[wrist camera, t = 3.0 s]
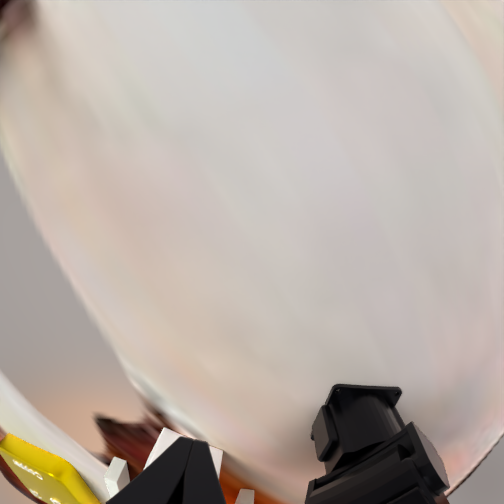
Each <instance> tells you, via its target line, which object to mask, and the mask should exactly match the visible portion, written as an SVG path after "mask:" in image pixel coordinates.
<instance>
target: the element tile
mask: <svg viewBox="0 0 504 504" xmlns="http://www.w3.org/2000/svg"><path fill="white" fill-rule="evenodd" d="M0 454H1V456H2V457H3V458H4V460H5V461H6V463H7V464H8V465H9V467H10V468H11V469H12V470H13V472H14V473H15V474H16V475H17V477H18V478H19V479H20V480H21V482H22V483H23V484H24V485H25V486H26V487H27V489H28V490H29V491H30V492H31V493H32V494H33V495H34V496H35V497H37V498H39V499H41V500H43V501H44V502H46V503H48V504H101V503H100V502H99V500H98V499H97V498H96V497H95V495H94V494H93V493H92V491H91V490H90V489H89V487H88V486H87V485H86V483H85V482H84V480H83V479H82V478H81V476H80V475H79V473H78V472H77V470H76V469H75V468H74V467H73V466H72V465H71V464H70V463H69V462H68V461H66V460H65V459H63V458H61V457H59V456H57V455H54V454H52V453H50V452H47V451H45V450H43V449H41V448H38V447H36V446H34V445H32V444H30V443H28V442H26V441H24V440H22V439H20V438H18V437H16V436H14V435H12V434H10V433H8V434H7V435H6V436H5V437H4V438H3V439H2V440H1V442H0Z"/></svg>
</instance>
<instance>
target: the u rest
mask: <svg viewBox="0 0 504 504" xmlns="http://www.w3.org/2000/svg"><path fill="white" fill-rule="evenodd" d="M104 479H105V482H106V485H107V488H108V491H109V494H110V497H111V498H112V497H113V496H114V495H116V494H117V493H118V492H119V491H120V490H121V489H123V488H124V487H125V486H126V485H127V484H128V483H130V478H129V473H128V467H127V461H125V460H122V459H120V458H117V457H114V458H113V460H112V462H111V464H110V466H109V468H108V470H107V472H106V474H105V476H104ZM235 504H254V490H250V489H242V488H241V489H240V492H239V494H238V497H237V499H236V502H235Z"/></svg>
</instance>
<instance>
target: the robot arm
mask: <svg viewBox="0 0 504 504" xmlns="http://www.w3.org/2000/svg"><path fill="white" fill-rule="evenodd" d="M338 389H340V390H339V391H336V390H338ZM396 392H397V393H396ZM401 394H402V391H401V389H400V388H399V387H381V386H361V385H347V384H336V385H334V386H333V387H332V389H331V391H330V393H329V396H328V398H327V400H326V402H325V405H323V406H322V407H321V408H320V410H319V413H318V415H317V417H316V419H315V421H314V423H313V426H312V433H311V439H312V440H313V441H315V447H316V453H317V458H318V460H319V461H320V462H324V464H325V469H326V475H324V476H322V477H320V478H318V479H314V480H312V481H309V485H308V490H307V495H306V500H305V504H449V502H448V500H447V498H446V496H445V494H444V491H446V490H447V489H449V488H450V485H449V481H448V478H447V474H446V470H445V467H444V463H443V461H442V460H441V458H440V456H439V455H438V453H437V451H436V450H435V448H434V446H433V445H432V443H431V442H430V441H429V440H428V439H427V437H426V436H425V435H424V434H423V433H422V432H421V431H420V430H419V428H418V427H417V426H416V425H415V424H414V423H413V422H410V423H409V424H407V425H406V426H405V424H404V422H403V420H402V419H401V417H400V415H399V413H398V411H397V409H396V407H395V405H396V403H397V401H398V400H399V398H400V396H401ZM105 504H226V501H225V498H224V495H223V492H222V488H221V485H220V482H219V479H218V475H217V472H216V469H215V465H214V462H213V458H212V455H211V451H210V447H209V444H208V442H206V441H201V440H197V439H195V440H194V439H192V438H188V437H184V436H180V437H178V438H177V439H176V440H175V441H174V442H173V443H172V444H171V445H170V446H169V447H168V448H167V449H166V450H165V451H164V452H163V453H162V454H161V455H160V456H158V457H157V458H156V459H155V460H154V461H153V462H152V463H151V464H150V465H149V466H148V467H146V468H145V469H144V470H143V471H142V472H141V473H140V474H139V475H138V476H136V477H135V478H134V479H133V480H132V481H131V482H130V483H128V484H127V485H126V486H125V487H124V488H123V489H121V490H120V491H119V492H118V493H117V494H116V495H114V496H113V497H112V498H111V499H110V500H108V501H107V502H106V503H105Z"/></svg>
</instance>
